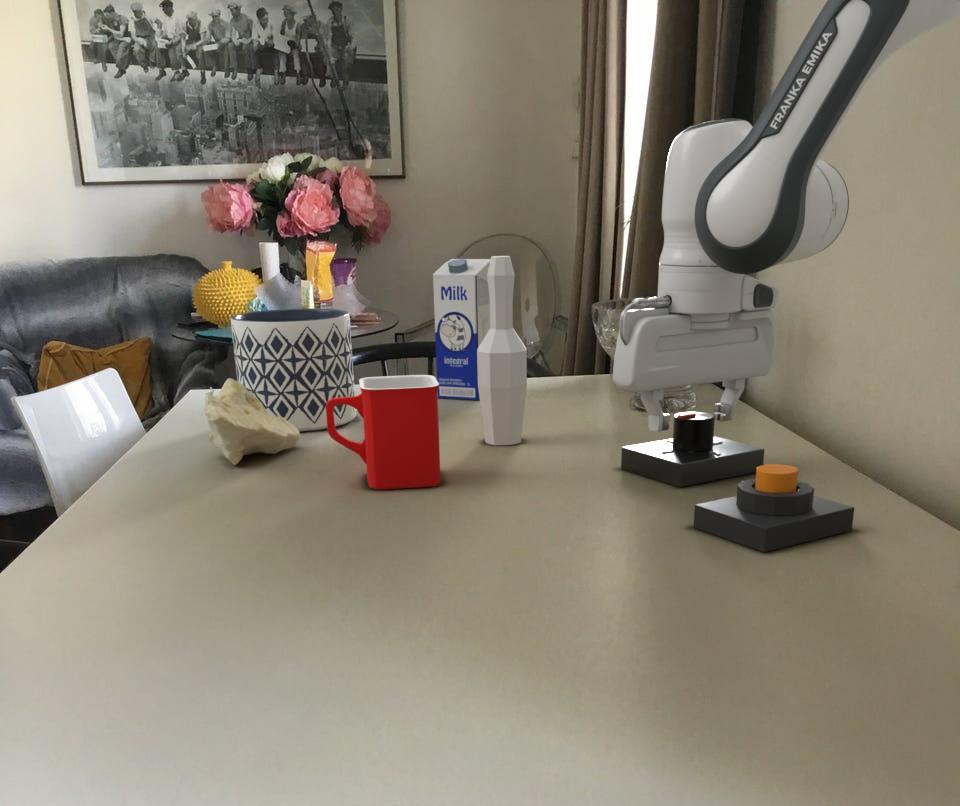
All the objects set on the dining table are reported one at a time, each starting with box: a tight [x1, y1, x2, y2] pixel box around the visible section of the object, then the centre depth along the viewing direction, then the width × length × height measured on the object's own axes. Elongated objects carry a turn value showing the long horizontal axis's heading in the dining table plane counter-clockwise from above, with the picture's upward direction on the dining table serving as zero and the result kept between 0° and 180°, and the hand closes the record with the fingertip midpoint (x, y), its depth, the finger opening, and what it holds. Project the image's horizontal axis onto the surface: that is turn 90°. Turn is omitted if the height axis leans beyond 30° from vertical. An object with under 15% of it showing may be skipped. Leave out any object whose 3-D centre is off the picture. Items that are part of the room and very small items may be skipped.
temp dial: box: [672, 411, 716, 452], centre depth 116 cm, size 4×4×4 cm
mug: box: [326, 374, 442, 490], centre depth 114 cm, size 12×8×11 cm
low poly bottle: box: [477, 255, 528, 446], centre depth 129 cm, size 6×6×22 cm
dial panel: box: [620, 435, 765, 488], centre depth 117 cm, size 12×10×3 cm
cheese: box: [203, 377, 301, 466], centre depth 126 cm, size 15×7×15 cm
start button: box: [755, 463, 799, 493], centre depth 95 cm, size 4×4×2 cm
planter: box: [230, 308, 357, 432], centre depth 145 cm, size 16×16×14 cm
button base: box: [693, 477, 855, 553], centre depth 96 cm, size 11×9×4 cm
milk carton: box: [431, 258, 491, 401], centre depth 160 cm, size 7×7×20 cm
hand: (691, 425), depth 116 cm, fingers open, 8 cm apart
